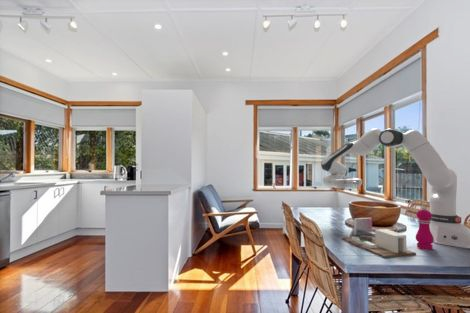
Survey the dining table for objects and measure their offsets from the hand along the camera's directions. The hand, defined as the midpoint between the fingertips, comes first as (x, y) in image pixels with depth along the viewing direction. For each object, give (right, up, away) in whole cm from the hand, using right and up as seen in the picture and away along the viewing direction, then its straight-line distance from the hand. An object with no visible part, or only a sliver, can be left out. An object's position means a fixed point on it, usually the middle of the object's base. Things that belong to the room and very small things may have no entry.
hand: (354, 182), depth 163 cm
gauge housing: (+1, -27, -36) cm, 45 cm away
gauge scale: (-8, -28, -29) cm, 41 cm away
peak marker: (-8, -26, -29) cm, 39 cm away
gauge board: (-3, -29, -30) cm, 42 cm away
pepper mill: (+20, -29, -32) cm, 48 cm away
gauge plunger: (-3, -27, -28) cm, 39 cm away
